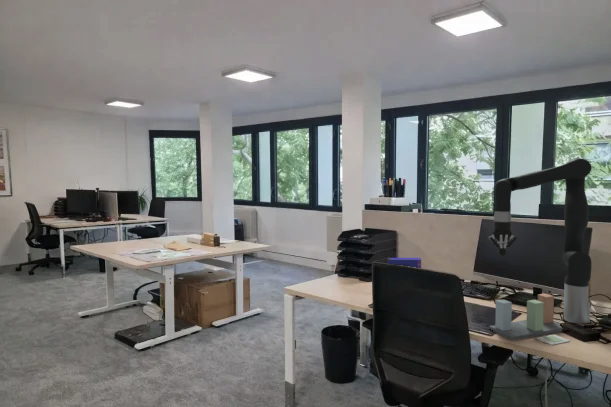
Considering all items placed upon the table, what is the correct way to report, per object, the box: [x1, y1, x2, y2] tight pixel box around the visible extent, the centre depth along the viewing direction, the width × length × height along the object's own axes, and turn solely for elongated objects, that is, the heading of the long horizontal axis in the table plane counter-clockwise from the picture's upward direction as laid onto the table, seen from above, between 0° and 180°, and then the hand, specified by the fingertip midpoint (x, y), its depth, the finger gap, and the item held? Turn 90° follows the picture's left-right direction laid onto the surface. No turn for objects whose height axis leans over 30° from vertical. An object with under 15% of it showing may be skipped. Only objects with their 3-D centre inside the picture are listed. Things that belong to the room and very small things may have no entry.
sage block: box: [526, 299, 544, 331], centre depth 171 cm, size 4×4×12 cm
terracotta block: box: [537, 293, 555, 323], centre depth 180 cm, size 4×4×12 cm
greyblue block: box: [494, 299, 513, 331], centre depth 173 cm, size 4×4×12 cm
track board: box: [488, 319, 563, 341], centre depth 175 cm, size 31×13×2 cm, turn 108°
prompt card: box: [536, 333, 571, 346], centre depth 164 cm, size 10×7×1 cm
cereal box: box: [387, 257, 422, 269], centre depth 218 cm, size 17×5×24 cm, turn 84°
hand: (502, 255), depth 194 cm, fingers closed
